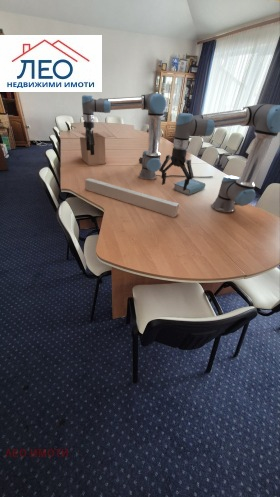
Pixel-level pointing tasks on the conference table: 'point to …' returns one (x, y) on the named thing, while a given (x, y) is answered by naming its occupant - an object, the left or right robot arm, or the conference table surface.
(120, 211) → the conference table surface
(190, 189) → the book
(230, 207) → the right robot arm
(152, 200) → the beam
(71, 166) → the conference table surface
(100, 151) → the box
